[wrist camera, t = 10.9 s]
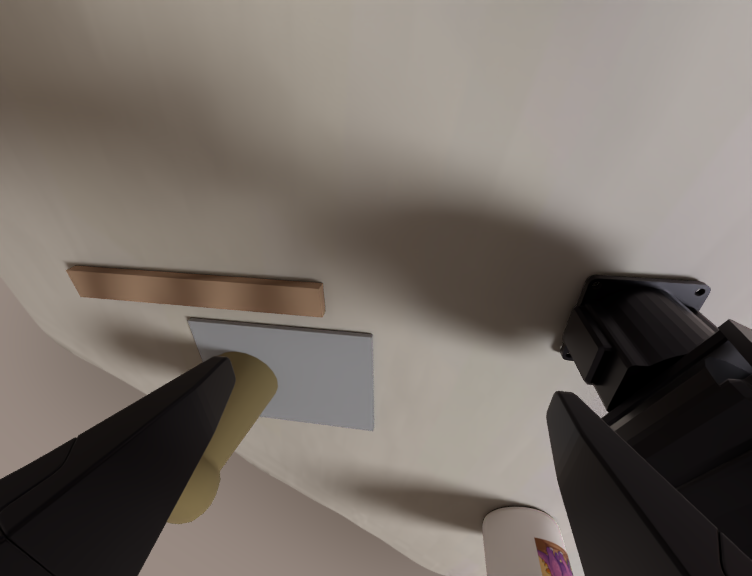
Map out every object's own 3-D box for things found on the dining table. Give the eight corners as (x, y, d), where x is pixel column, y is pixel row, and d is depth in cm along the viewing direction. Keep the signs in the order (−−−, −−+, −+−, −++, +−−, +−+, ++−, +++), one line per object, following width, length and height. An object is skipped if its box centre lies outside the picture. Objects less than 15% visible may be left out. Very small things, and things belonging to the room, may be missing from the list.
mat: (372, 334, 25) (371, 337, 25) (374, 427, 31) (373, 431, 31) (190, 317, 27) (187, 320, 27) (223, 408, 33) (221, 411, 33)
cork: (237, 405, 32) (155, 538, 22) (198, 359, 29) (87, 487, 20) (290, 395, 30) (224, 536, 20) (254, 345, 27) (160, 480, 18)
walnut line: (322, 283, 24) (319, 289, 23) (325, 311, 25) (322, 317, 24) (75, 265, 26) (66, 270, 26) (89, 291, 27) (80, 296, 27)
